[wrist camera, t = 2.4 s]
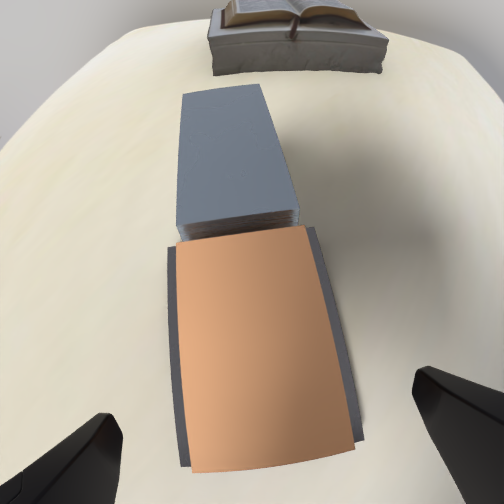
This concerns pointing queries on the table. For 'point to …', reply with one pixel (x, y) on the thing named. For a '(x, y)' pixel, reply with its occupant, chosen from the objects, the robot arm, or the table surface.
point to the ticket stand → (236, 206)
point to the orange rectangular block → (257, 353)
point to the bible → (293, 38)
